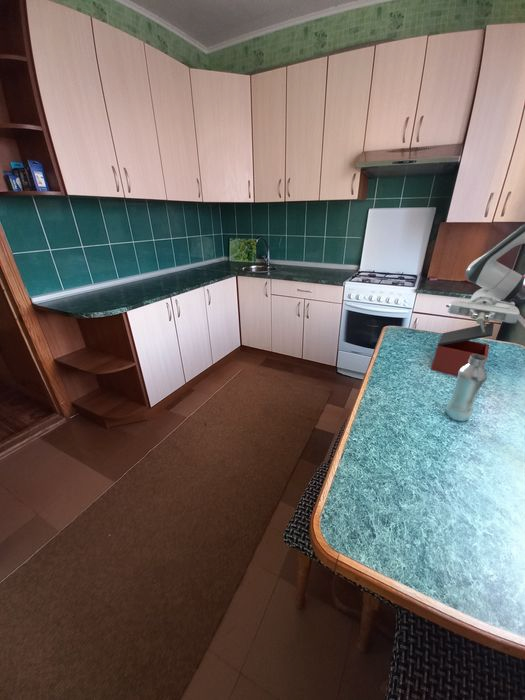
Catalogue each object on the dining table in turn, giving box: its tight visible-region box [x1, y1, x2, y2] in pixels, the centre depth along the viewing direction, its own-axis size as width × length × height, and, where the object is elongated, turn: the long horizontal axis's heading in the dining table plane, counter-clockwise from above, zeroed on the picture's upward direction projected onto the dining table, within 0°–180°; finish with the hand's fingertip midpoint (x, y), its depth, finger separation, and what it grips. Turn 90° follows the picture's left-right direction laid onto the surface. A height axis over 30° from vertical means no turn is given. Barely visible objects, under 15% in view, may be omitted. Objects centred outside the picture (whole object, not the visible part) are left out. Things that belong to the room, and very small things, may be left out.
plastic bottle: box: [445, 354, 488, 422], centre depth 81 cm, size 6×7×20 cm
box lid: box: [437, 312, 495, 347], centre depth 103 cm, size 16×12×6 cm
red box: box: [430, 340, 490, 377], centre depth 107 cm, size 15×12×10 cm
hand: (480, 317), depth 98 cm, fingers closed on box lid, 2 cm apart
